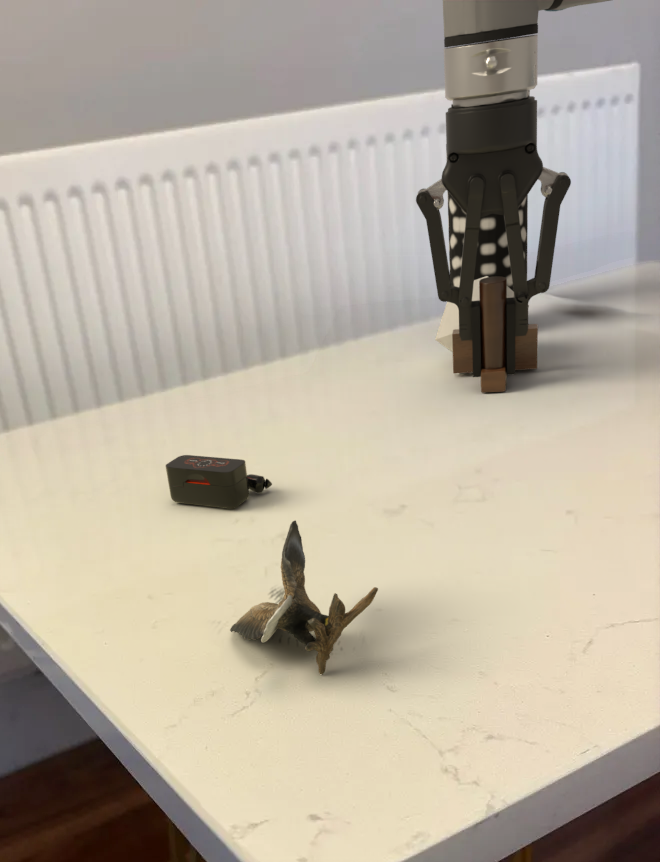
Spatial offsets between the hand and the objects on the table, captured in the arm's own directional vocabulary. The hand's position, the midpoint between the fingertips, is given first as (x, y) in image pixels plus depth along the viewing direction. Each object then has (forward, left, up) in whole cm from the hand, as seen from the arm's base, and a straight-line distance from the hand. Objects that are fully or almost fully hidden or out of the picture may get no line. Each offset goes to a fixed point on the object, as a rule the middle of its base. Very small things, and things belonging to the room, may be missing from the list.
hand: (493, 371), depth 97 cm
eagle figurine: (+37, +33, -2) cm, 49 cm away
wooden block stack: (-1, -1, -1) cm, 2 cm away
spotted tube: (-12, -18, -2) cm, 22 cm away
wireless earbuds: (+32, +9, -2) cm, 33 cm away
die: (-4, -8, -2) cm, 9 cm away
